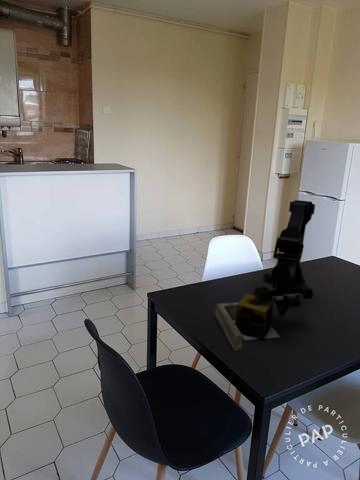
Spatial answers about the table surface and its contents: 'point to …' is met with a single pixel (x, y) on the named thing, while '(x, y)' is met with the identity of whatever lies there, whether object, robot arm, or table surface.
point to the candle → (254, 316)
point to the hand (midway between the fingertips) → (280, 316)
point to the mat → (271, 334)
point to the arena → (229, 323)
